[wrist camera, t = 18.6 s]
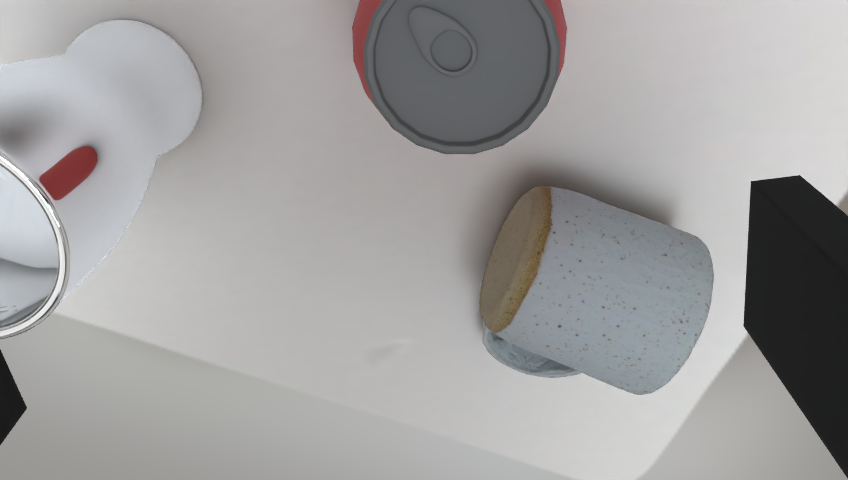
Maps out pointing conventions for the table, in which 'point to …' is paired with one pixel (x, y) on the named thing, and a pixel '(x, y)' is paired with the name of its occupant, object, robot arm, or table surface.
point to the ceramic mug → (593, 292)
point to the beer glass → (82, 156)
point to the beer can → (459, 67)
